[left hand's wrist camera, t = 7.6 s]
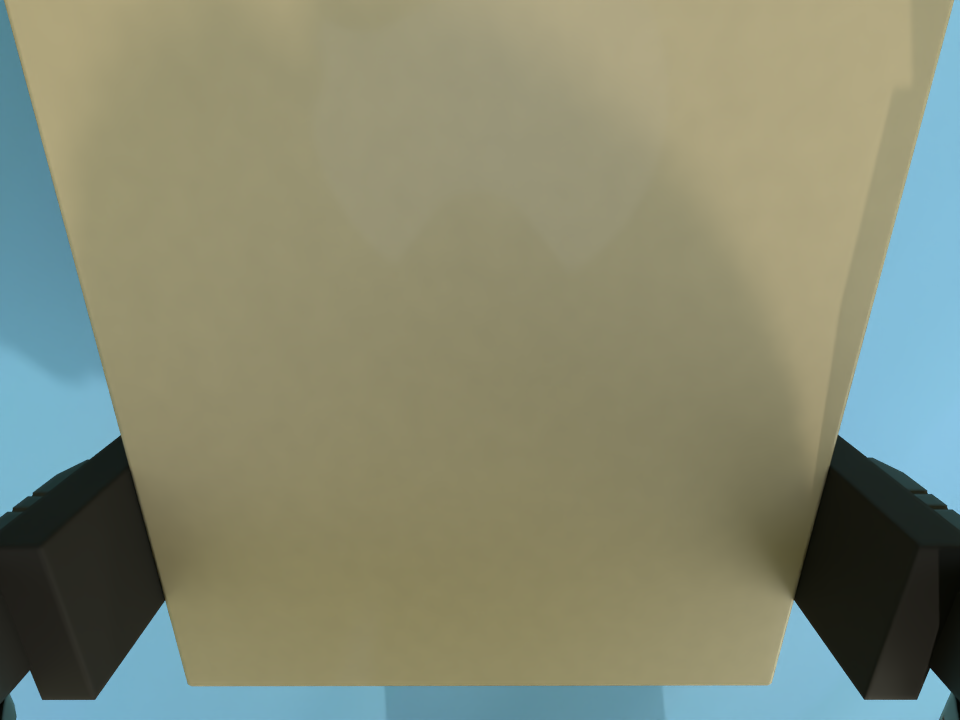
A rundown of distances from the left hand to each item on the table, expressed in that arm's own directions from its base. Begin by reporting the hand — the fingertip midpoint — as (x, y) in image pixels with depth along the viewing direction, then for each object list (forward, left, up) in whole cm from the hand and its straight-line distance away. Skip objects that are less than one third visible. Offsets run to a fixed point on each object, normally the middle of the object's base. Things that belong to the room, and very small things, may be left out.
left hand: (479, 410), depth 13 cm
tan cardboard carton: (+2, -6, -5) cm, 8 cm away
